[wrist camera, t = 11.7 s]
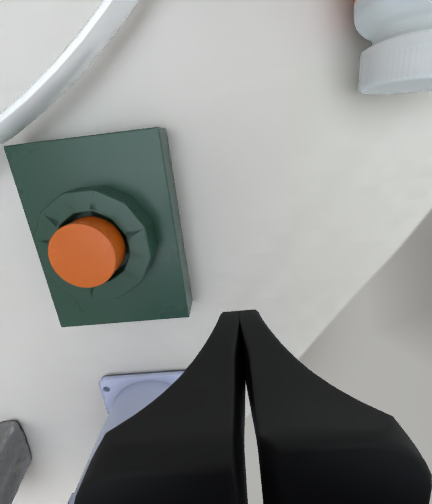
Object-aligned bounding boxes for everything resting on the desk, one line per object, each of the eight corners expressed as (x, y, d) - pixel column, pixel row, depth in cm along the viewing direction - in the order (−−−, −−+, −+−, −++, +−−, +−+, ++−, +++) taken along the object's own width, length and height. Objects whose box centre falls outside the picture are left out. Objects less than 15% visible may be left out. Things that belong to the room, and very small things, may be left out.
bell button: (131, 272, 18) (122, 285, 17) (73, 277, 19) (58, 290, 17) (118, 212, 17) (107, 220, 16) (56, 219, 18) (38, 227, 16)
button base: (192, 301, 23) (185, 332, 19) (75, 311, 24) (47, 343, 20) (165, 128, 19) (150, 125, 15) (26, 145, 20) (-22, 146, 16)
